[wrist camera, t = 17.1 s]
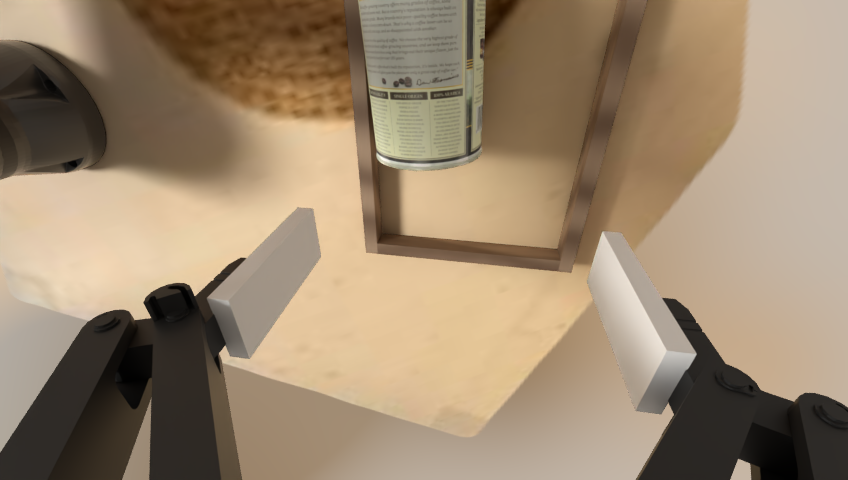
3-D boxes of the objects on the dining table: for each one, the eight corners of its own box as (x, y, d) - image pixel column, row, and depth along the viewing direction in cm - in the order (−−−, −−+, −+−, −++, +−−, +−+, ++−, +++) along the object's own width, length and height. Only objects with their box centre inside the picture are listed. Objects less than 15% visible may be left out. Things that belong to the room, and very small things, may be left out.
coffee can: (370, 144, 38) (350, -18, 31) (463, 134, 40) (464, -22, 33) (381, 178, 30) (356, -35, 23) (499, 163, 31) (511, -40, 24)
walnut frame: (567, 260, 45) (571, 272, 42) (371, 242, 48) (366, 252, 46) (663, -98, 27) (677, -108, 25) (346, -90, 30) (335, -98, 28)
